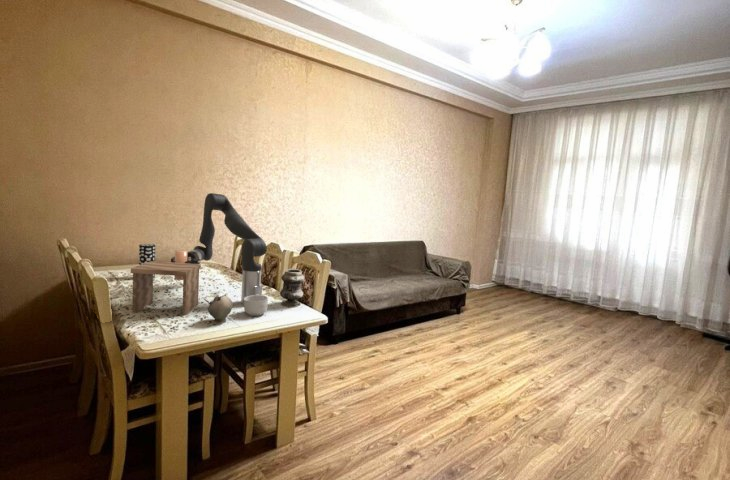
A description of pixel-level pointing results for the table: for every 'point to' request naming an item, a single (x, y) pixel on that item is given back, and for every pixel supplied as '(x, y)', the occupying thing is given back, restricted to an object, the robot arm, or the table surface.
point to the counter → (146, 271)
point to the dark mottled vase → (292, 287)
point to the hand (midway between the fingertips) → (178, 263)
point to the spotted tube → (146, 254)
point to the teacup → (255, 304)
